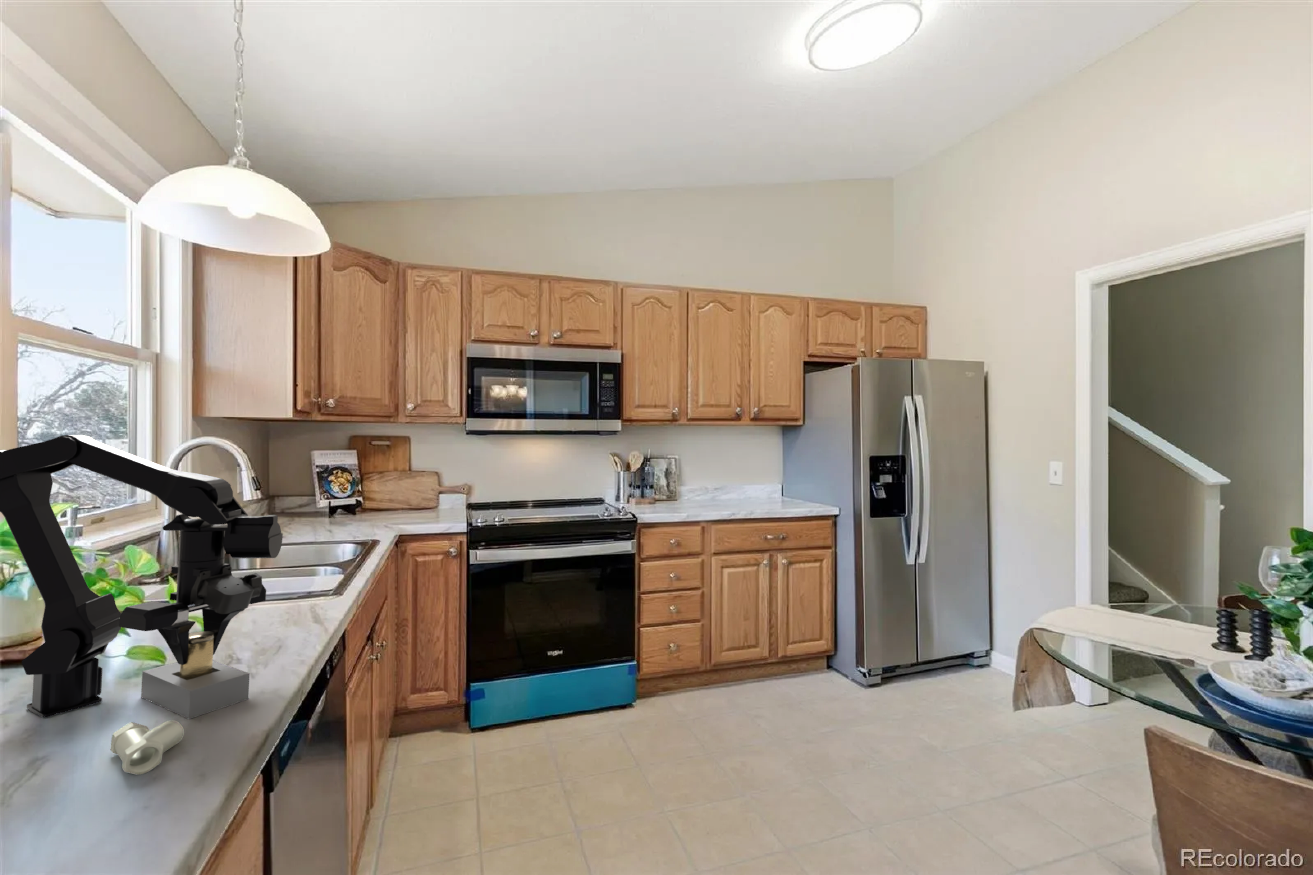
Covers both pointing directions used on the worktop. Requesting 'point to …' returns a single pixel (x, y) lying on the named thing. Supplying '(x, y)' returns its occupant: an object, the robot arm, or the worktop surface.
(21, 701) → the worktop surface
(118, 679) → the worktop surface
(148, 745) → the pipe fitting
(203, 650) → the brass plug
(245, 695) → the block
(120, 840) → the worktop surface
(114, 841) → the worktop surface
